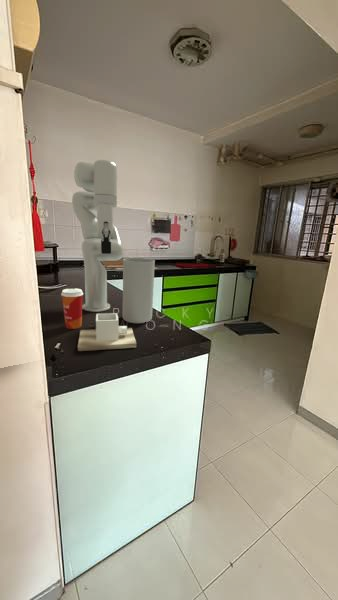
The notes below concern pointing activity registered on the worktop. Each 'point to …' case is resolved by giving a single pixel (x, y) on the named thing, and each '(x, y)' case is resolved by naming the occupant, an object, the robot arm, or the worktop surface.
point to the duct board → (89, 341)
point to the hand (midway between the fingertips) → (105, 252)
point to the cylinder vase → (138, 289)
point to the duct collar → (108, 327)
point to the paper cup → (72, 307)
